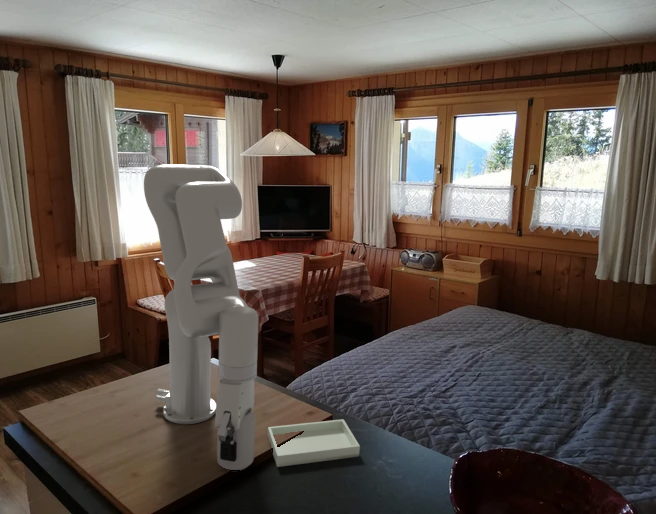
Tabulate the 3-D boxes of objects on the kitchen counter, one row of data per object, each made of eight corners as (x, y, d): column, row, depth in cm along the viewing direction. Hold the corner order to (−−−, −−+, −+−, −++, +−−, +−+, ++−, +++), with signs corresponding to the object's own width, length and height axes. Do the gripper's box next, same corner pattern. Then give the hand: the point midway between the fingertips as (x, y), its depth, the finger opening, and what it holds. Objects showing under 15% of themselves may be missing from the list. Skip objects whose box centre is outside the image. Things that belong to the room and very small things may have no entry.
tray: (277, 466, 105) (277, 456, 104) (267, 437, 115) (267, 427, 115) (359, 456, 110) (359, 446, 109) (342, 428, 120) (343, 419, 120)
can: (246, 476, 101) (247, 421, 99) (211, 469, 102) (211, 415, 100) (258, 455, 108) (260, 403, 106) (225, 449, 110) (226, 398, 107)
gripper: (236, 349, 110) (234, 424, 114) (201, 384, 93) (200, 470, 97) (269, 354, 109) (266, 429, 112) (239, 390, 92) (237, 477, 96)
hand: (236, 447), depth 105 cm, fingers closed on can, 7 cm apart
